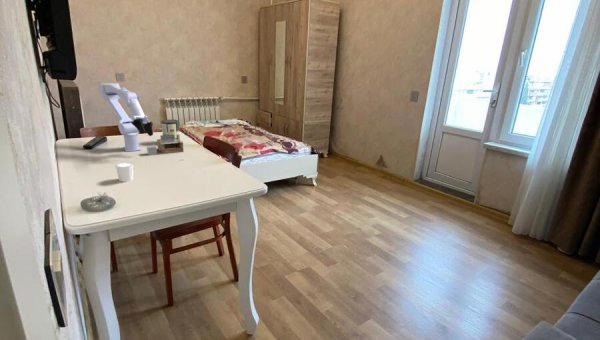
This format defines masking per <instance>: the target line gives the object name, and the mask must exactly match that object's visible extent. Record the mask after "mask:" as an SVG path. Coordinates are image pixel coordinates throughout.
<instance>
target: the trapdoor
mask: <svg viewBox="0 0 600 340" xmlns="http://www.w3.org/2000/svg"><path fill="white" fill-rule="evenodd" d="M159 136H160V141H161V142H162V143H163V144H170V143H179V141H177V140H176V139H175V136H174V134H173V135H163V134H162V135H159Z"/></svg>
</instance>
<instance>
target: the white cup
mask: <svg viewBox="0 0 600 340" xmlns="http://www.w3.org/2000/svg"><path fill="white" fill-rule="evenodd" d="M115 169H116V173H117V177H118V181H119V182H121V183H125V182H126V183H127V182H131V181H133V180H134V164H133V163H131V162H121V163H117V164H116V165H115Z"/></svg>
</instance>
